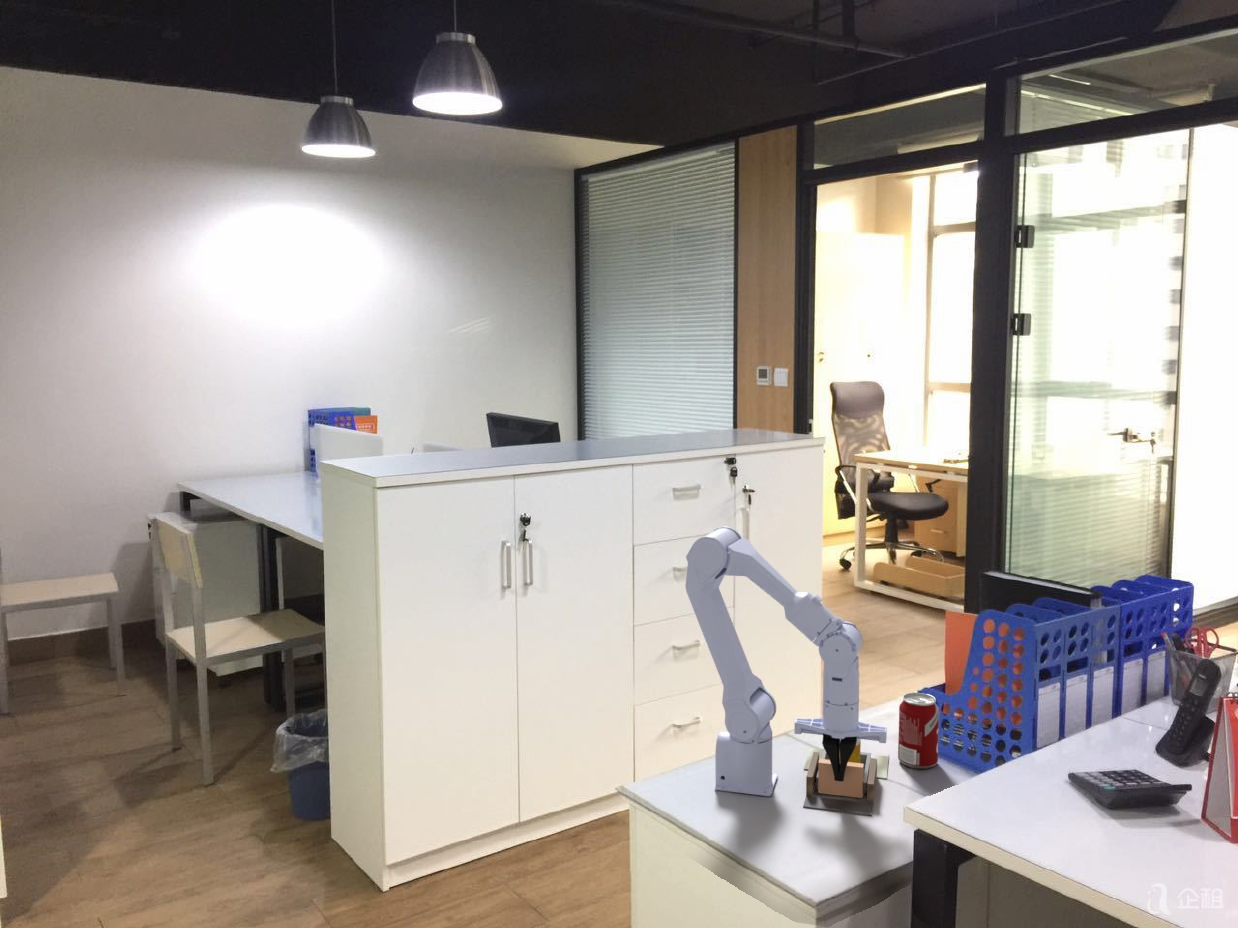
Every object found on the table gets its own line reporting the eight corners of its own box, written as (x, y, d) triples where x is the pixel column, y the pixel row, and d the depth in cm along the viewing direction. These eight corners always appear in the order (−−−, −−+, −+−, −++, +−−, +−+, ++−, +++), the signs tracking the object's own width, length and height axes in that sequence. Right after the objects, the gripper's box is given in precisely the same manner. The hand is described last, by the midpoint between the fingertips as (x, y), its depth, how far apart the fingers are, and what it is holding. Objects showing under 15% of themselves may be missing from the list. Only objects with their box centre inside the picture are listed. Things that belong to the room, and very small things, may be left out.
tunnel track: (793, 805, 166) (793, 785, 165) (810, 748, 187) (810, 730, 187) (882, 817, 161) (882, 796, 161) (888, 757, 183) (889, 738, 182)
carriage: (815, 792, 169) (815, 762, 169) (823, 758, 182) (824, 730, 181) (865, 798, 167) (866, 767, 166) (870, 763, 180) (871, 735, 179)
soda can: (915, 774, 176) (916, 708, 174) (890, 759, 182) (891, 695, 181) (945, 766, 179) (947, 701, 177) (920, 752, 185) (921, 688, 183)
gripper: (792, 703, 163) (791, 783, 165) (885, 712, 159) (883, 794, 160) (798, 688, 170) (797, 765, 171) (888, 696, 165) (886, 775, 167)
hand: (839, 778), depth 166 cm, fingers closed, pressing on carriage
